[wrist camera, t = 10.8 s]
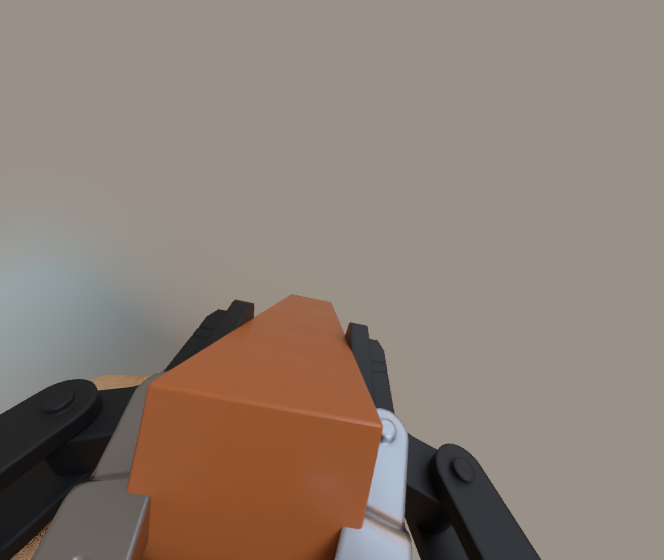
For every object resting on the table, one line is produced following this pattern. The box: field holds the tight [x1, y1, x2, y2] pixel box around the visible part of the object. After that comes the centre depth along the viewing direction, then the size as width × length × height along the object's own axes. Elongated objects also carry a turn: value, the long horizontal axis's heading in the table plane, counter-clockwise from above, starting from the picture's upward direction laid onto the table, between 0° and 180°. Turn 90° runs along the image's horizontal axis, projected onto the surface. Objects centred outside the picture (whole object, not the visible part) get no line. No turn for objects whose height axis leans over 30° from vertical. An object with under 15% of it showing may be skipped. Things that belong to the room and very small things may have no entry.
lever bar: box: [127, 295, 383, 560], centre depth 14 cm, size 20×4×3 cm, turn 3°
